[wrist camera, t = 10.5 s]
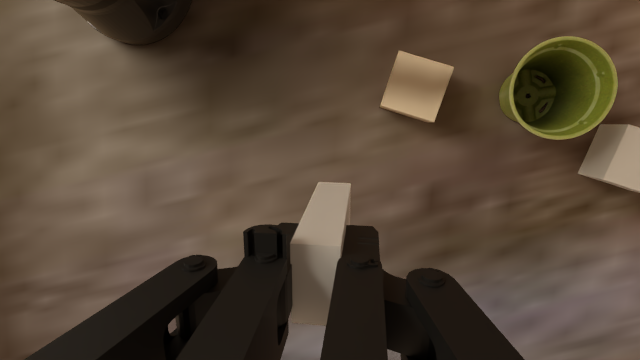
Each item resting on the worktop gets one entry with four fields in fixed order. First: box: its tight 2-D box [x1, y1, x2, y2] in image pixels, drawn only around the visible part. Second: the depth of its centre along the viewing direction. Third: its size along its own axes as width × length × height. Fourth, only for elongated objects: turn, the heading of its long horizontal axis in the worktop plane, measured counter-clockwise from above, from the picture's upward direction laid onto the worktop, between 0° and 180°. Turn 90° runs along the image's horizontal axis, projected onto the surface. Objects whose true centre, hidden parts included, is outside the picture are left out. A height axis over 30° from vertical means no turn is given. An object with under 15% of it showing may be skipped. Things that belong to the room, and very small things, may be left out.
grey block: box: [578, 124, 640, 193], centre depth 41 cm, size 6×6×5 cm
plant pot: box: [499, 36, 618, 140], centre depth 40 cm, size 9×9×9 cm
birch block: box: [379, 51, 454, 122], centre depth 43 cm, size 6×6×5 cm
